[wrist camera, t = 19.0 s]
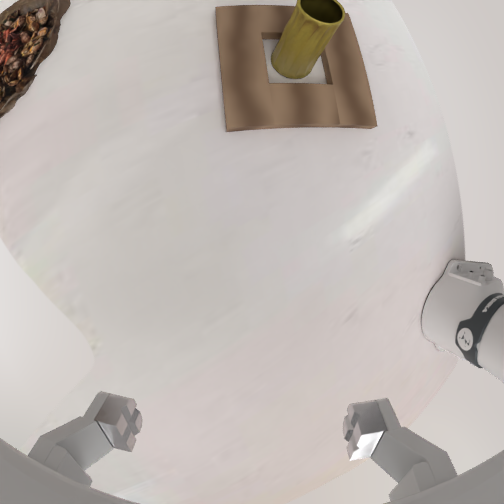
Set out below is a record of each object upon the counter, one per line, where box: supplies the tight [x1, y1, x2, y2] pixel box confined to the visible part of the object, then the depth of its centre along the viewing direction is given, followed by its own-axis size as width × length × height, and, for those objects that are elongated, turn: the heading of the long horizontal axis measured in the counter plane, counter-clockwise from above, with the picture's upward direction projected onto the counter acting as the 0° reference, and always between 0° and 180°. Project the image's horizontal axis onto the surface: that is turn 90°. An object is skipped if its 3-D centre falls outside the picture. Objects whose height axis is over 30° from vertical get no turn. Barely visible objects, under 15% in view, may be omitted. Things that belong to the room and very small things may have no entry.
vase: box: [271, 0, 345, 79], centre depth 26 cm, size 6×6×14 cm
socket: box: [216, 5, 377, 132], centre depth 32 cm, size 21×21×2 cm
